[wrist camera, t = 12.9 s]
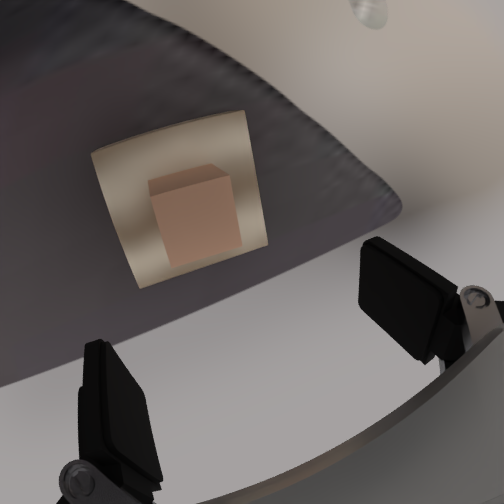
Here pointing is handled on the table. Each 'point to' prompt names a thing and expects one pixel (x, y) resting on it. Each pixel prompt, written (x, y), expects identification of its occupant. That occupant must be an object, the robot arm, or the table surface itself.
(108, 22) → the table surface
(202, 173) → the terracotta cube
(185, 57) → the table surface
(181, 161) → the birch block
